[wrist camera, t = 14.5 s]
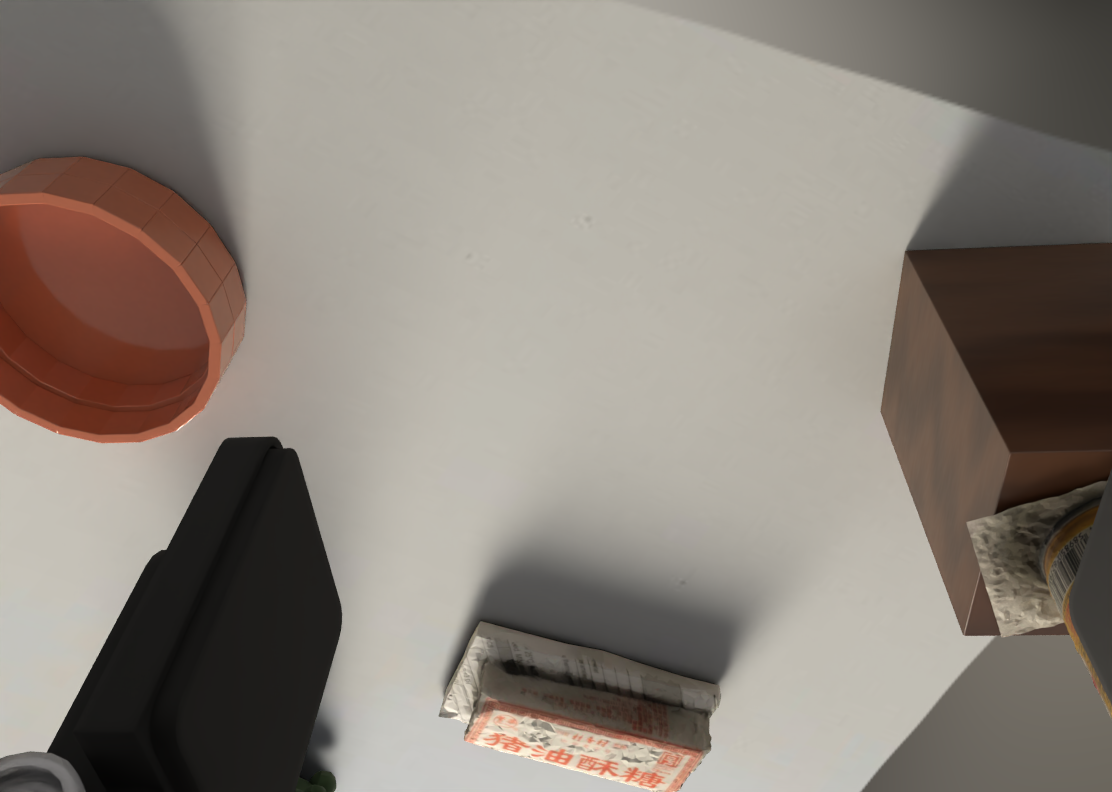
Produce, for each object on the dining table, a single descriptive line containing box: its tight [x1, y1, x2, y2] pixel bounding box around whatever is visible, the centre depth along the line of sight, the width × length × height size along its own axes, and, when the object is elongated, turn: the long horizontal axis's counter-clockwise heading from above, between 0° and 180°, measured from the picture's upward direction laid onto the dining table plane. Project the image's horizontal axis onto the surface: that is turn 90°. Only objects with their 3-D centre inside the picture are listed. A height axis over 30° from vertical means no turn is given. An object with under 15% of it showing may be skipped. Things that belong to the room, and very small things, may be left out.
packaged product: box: [439, 621, 721, 792], centre depth 68 cm, size 18×5×10 cm
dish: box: [0, 157, 246, 443], centre depth 50 cm, size 14×14×4 cm
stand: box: [881, 243, 1112, 636], centre depth 45 cm, size 10×10×16 cm
